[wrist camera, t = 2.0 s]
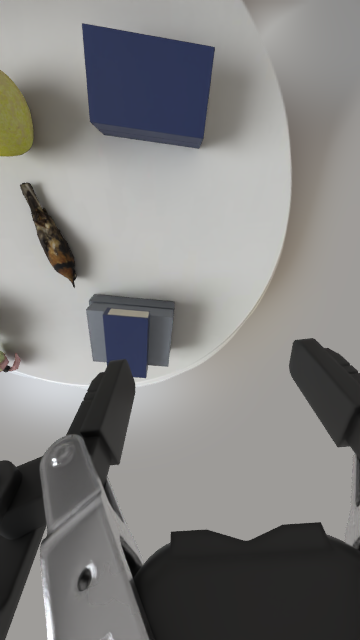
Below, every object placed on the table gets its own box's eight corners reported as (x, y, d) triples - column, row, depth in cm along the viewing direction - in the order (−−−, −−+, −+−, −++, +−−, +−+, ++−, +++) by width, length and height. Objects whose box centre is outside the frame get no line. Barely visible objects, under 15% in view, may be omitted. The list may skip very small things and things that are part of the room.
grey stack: (99, 343, 38) (89, 362, 34) (94, 294, 33) (82, 308, 29) (169, 349, 39) (168, 367, 35) (174, 301, 34) (174, 316, 30)
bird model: (67, 285, 32) (58, 291, 30) (20, 184, 26) (4, 183, 23) (86, 281, 32) (79, 288, 30) (44, 179, 25) (30, 177, 23)
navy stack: (199, 148, 24) (203, 138, 20) (103, 134, 23) (89, 122, 20) (208, 74, 21) (215, 46, 17) (99, 55, 20) (81, 22, 17)
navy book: (111, 365, 34) (107, 375, 32) (107, 307, 29) (102, 314, 27) (147, 368, 35) (146, 378, 33) (150, 310, 29) (148, 318, 27)
